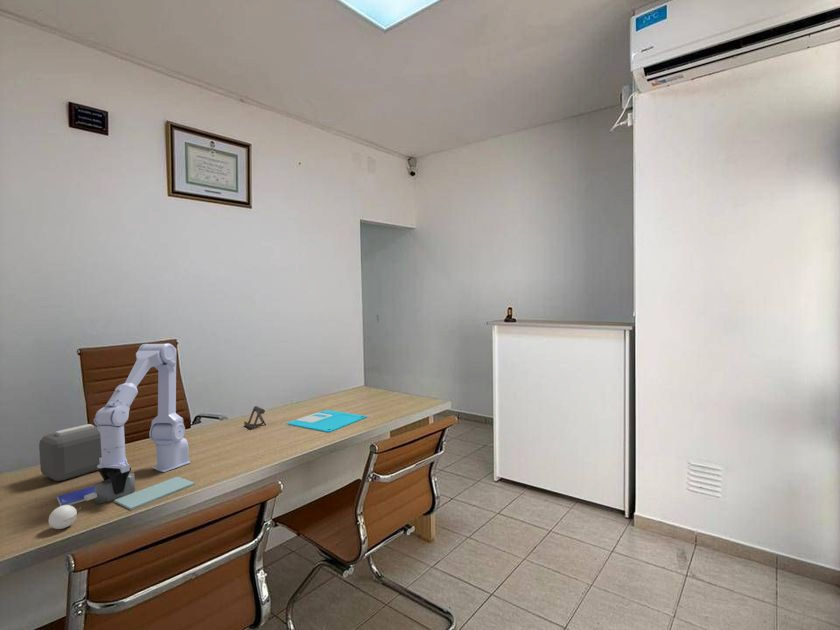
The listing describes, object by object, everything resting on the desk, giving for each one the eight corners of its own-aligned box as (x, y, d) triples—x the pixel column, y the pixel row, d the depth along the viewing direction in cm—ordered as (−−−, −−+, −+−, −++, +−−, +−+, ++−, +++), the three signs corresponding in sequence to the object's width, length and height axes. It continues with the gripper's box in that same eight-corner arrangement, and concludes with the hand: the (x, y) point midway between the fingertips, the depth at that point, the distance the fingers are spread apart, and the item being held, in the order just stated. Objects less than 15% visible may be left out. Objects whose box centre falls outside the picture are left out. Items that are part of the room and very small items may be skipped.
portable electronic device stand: (243, 426, 192) (243, 408, 192) (260, 422, 197) (260, 405, 197) (250, 430, 186) (249, 411, 185) (267, 426, 191) (267, 408, 191)
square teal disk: (329, 433, 178) (329, 431, 178) (285, 425, 193) (285, 423, 193) (367, 418, 200) (367, 416, 200) (325, 411, 215) (325, 409, 215)
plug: (131, 487, 129) (130, 472, 128) (137, 490, 126) (136, 474, 126) (83, 505, 118) (82, 488, 118) (89, 508, 116) (88, 491, 116)
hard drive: (61, 504, 117) (114, 488, 126) (56, 495, 123) (108, 481, 132) (61, 509, 117) (114, 493, 126) (57, 500, 123) (108, 486, 132)
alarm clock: (98, 461, 152) (96, 420, 152) (113, 467, 146) (110, 424, 146) (41, 478, 138) (38, 432, 138) (54, 485, 132) (51, 437, 132)
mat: (177, 478, 135) (177, 476, 135) (195, 484, 130) (194, 482, 130) (114, 502, 119) (114, 500, 119) (131, 510, 114) (131, 508, 114)
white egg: (56, 535, 102) (54, 513, 102) (44, 531, 105) (43, 509, 105) (91, 520, 109) (90, 499, 109) (79, 516, 112) (78, 496, 112)
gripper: (86, 446, 123) (89, 491, 124) (108, 455, 116) (111, 502, 116) (113, 439, 129) (116, 482, 130) (136, 447, 122) (138, 492, 122)
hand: (115, 491), depth 123 cm, fingers closed on plug, 4 cm apart
